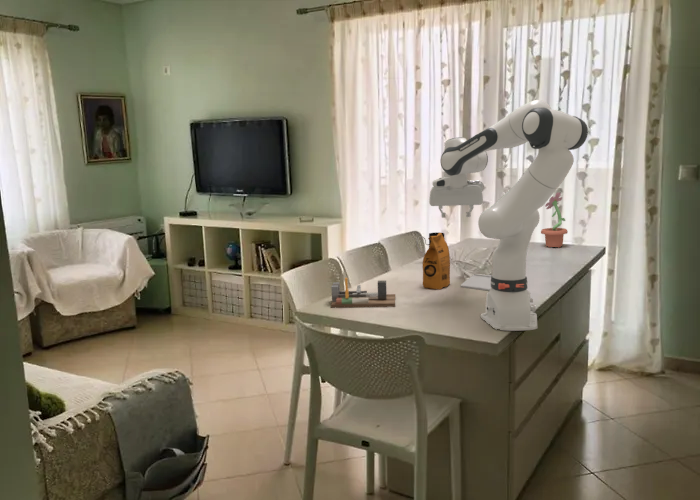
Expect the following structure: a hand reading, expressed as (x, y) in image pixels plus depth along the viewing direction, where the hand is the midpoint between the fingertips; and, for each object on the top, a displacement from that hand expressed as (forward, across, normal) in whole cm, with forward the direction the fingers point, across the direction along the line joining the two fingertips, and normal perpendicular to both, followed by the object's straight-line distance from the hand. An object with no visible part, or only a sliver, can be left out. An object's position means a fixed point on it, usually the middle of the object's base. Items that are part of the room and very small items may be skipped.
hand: (455, 217), depth 234 cm
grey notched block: (+30, +34, +10) cm, 46 cm away
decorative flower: (+31, -62, -101) cm, 123 cm away
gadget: (+32, -15, -19) cm, 40 cm away
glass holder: (+31, +7, -62) cm, 70 cm away
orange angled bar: (+28, +42, +13) cm, 52 cm away
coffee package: (+31, +7, -16) cm, 36 cm away
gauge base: (+31, +36, +8) cm, 48 cm away
